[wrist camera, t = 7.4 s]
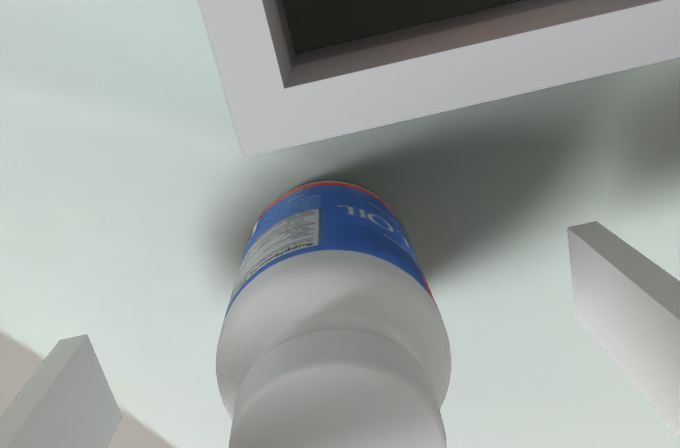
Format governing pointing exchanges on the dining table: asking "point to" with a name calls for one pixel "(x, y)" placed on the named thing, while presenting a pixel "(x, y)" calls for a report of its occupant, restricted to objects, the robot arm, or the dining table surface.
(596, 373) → the dining table surface
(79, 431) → the robot arm
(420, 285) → the pill bottle
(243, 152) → the grey compartment organizer
